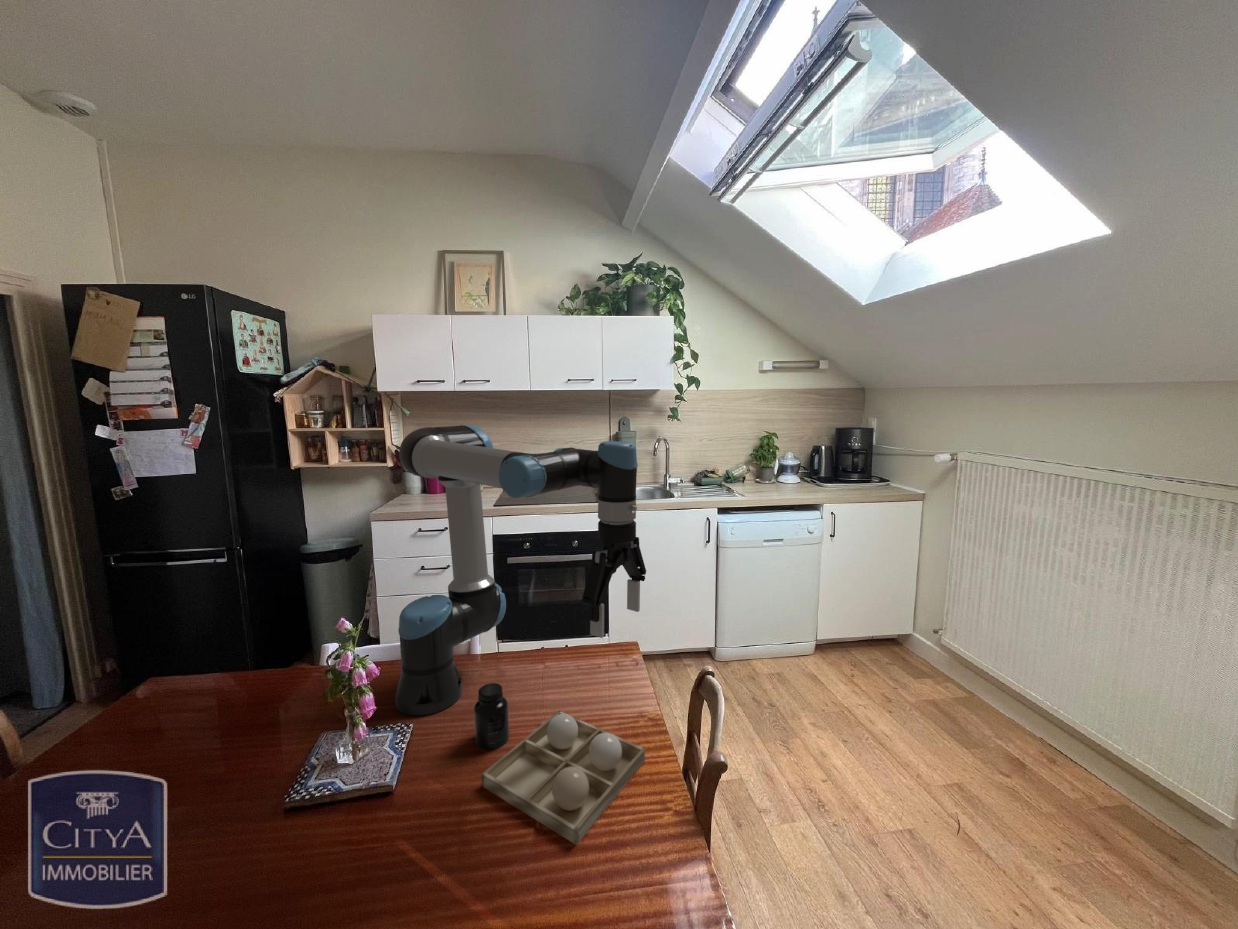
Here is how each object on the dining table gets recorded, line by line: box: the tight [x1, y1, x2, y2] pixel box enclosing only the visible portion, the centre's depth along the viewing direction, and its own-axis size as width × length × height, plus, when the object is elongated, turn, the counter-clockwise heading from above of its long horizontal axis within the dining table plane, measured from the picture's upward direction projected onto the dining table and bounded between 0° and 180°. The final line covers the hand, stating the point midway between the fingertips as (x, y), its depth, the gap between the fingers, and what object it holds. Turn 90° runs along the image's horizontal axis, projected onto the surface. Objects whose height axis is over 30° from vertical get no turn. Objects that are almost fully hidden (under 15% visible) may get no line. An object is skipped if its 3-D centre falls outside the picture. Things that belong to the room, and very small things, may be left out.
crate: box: [481, 710, 646, 846], centre depth 92 cm, size 22×22×4 cm
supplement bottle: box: [473, 682, 510, 751], centre depth 101 cm, size 7×7×12 cm
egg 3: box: [589, 732, 622, 771], centre depth 94 cm, size 6×6×6 cm
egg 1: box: [547, 713, 578, 750], centre depth 99 cm, size 6×6×6 cm
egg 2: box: [552, 767, 589, 811], centre depth 85 cm, size 6×6×6 cm
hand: (616, 622), depth 99 cm, fingers open, 13 cm apart
